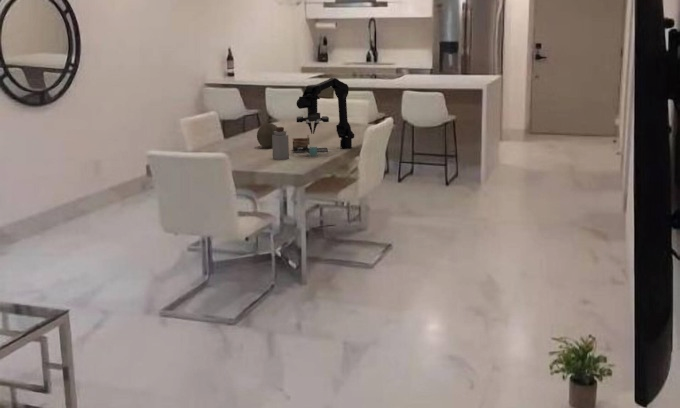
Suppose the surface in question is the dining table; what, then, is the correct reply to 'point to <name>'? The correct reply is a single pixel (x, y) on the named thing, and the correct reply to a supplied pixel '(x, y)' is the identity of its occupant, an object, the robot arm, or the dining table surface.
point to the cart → (301, 143)
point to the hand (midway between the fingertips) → (312, 134)
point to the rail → (308, 150)
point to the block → (313, 151)
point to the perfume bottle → (280, 144)
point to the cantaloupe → (266, 134)
